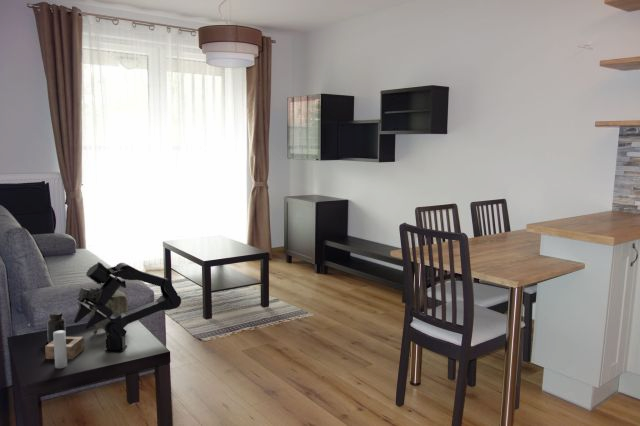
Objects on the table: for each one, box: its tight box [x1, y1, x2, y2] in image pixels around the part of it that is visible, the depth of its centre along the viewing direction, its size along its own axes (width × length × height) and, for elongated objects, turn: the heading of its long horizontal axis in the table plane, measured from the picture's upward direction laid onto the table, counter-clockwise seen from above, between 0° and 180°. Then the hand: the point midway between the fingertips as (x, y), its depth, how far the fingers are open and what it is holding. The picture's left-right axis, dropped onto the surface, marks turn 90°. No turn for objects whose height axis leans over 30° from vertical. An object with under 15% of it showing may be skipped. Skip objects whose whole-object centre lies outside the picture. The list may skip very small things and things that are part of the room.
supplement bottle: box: [46, 310, 67, 344], centre depth 213 cm, size 7×7×12 cm
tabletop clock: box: [88, 276, 129, 334], centre depth 222 cm, size 14×9×25 cm, turn 133°
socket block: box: [44, 336, 85, 360], centre depth 200 cm, size 10×10×5 cm
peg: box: [53, 330, 68, 369], centre depth 189 cm, size 4×4×13 cm
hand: (80, 325), depth 194 cm, fingers open, 9 cm apart
